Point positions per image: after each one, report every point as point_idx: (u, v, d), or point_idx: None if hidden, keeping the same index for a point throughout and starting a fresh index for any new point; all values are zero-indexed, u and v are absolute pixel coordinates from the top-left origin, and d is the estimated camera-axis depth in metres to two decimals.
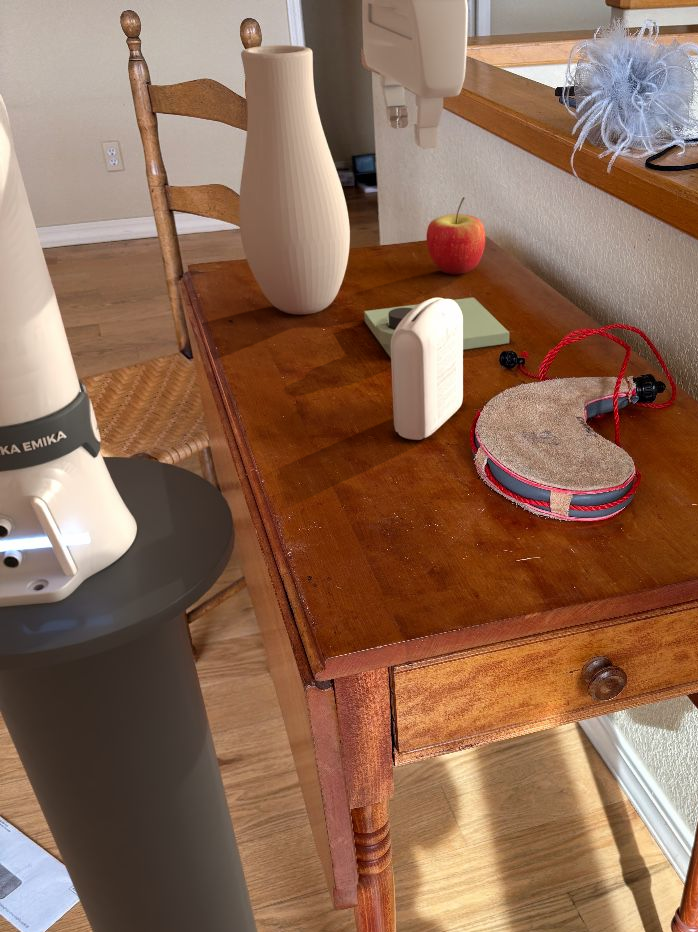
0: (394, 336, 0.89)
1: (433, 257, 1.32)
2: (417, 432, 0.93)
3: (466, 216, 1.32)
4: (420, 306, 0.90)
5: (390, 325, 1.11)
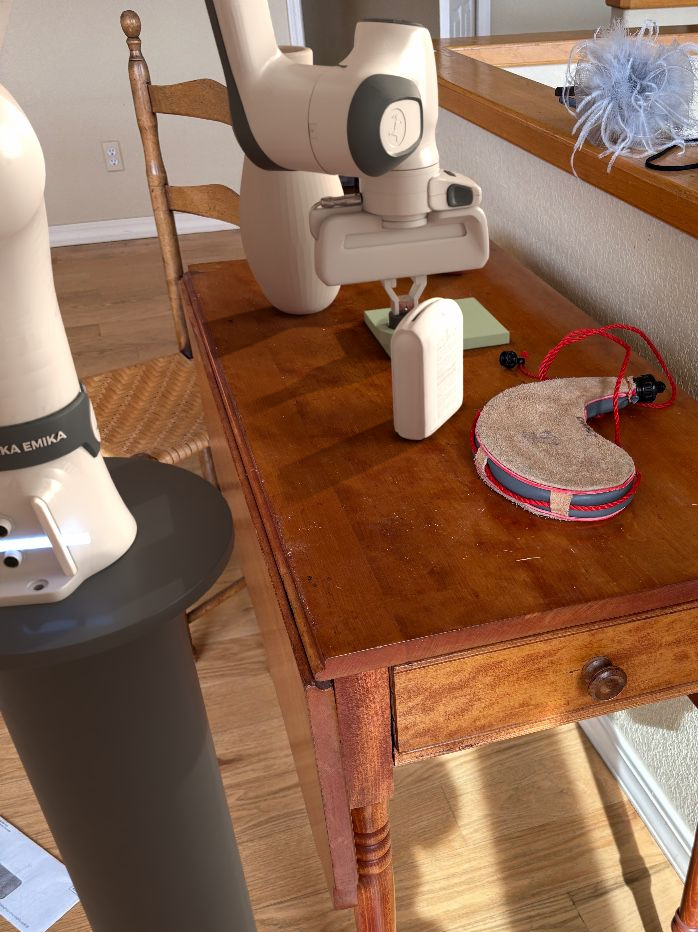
0: (394, 336, 0.89)
1: None
2: (417, 432, 0.93)
3: None
4: (420, 306, 0.90)
5: (390, 325, 1.11)
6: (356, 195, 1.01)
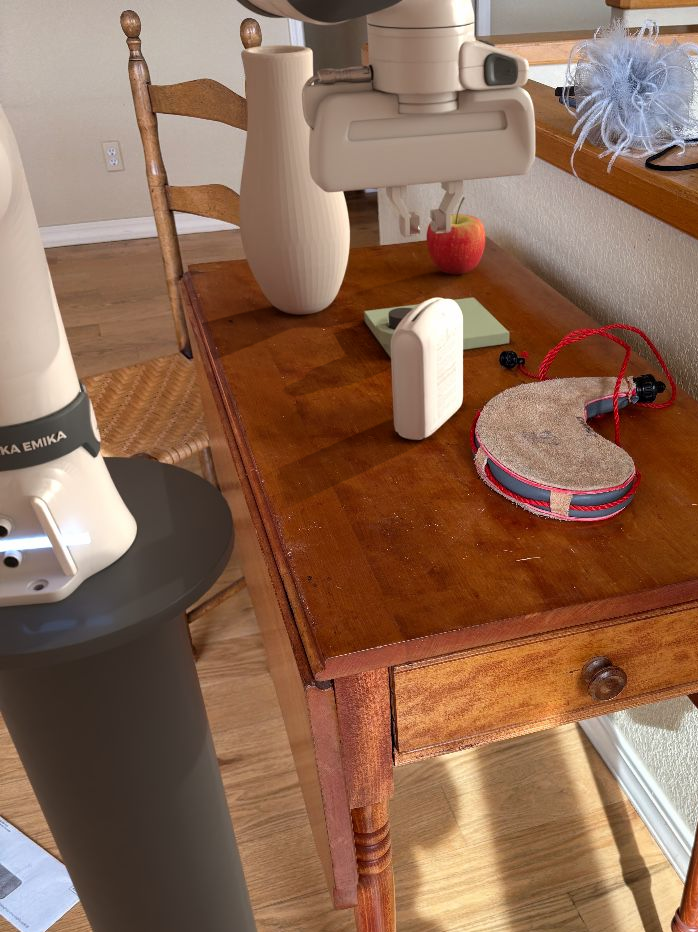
0: (394, 336, 0.89)
1: (433, 257, 1.32)
2: (417, 432, 0.93)
3: (466, 216, 1.32)
4: (420, 306, 0.90)
5: (390, 325, 1.11)
6: (364, 68, 0.76)
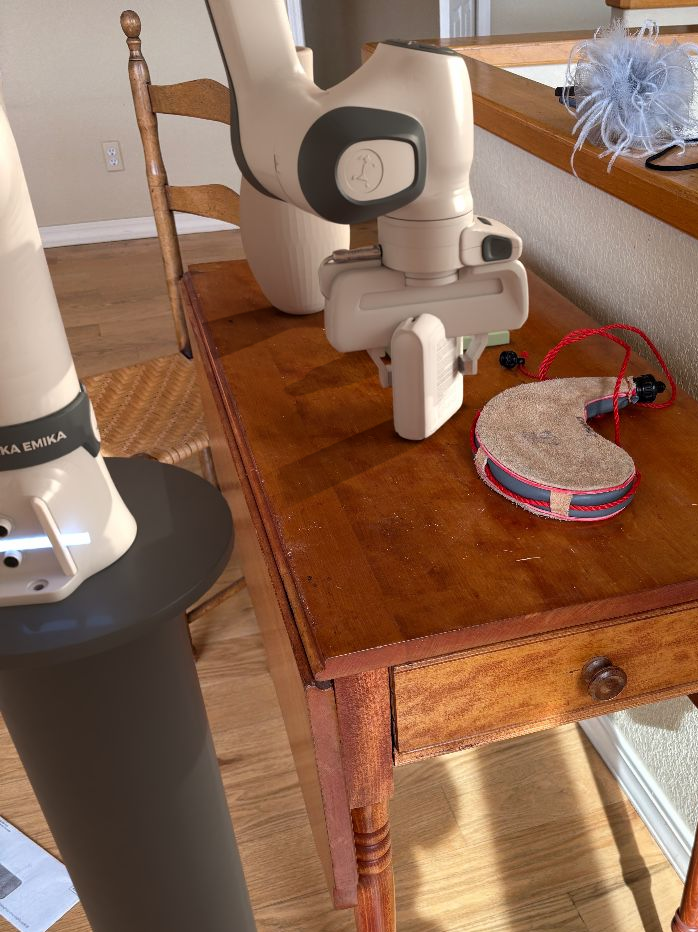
0: (394, 336, 0.89)
1: None
2: (417, 432, 0.93)
3: None
4: None
5: None
6: (375, 248, 0.85)
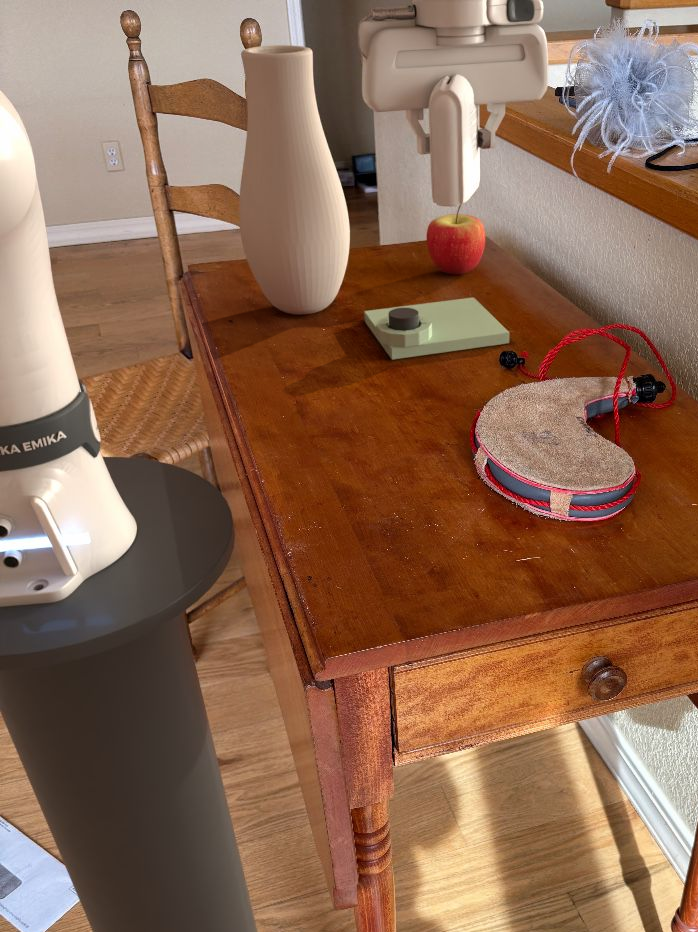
0: (432, 99, 0.96)
1: (433, 257, 1.32)
2: (456, 197, 1.01)
3: (466, 216, 1.32)
4: None
5: (390, 325, 1.11)
6: (409, 7, 0.94)
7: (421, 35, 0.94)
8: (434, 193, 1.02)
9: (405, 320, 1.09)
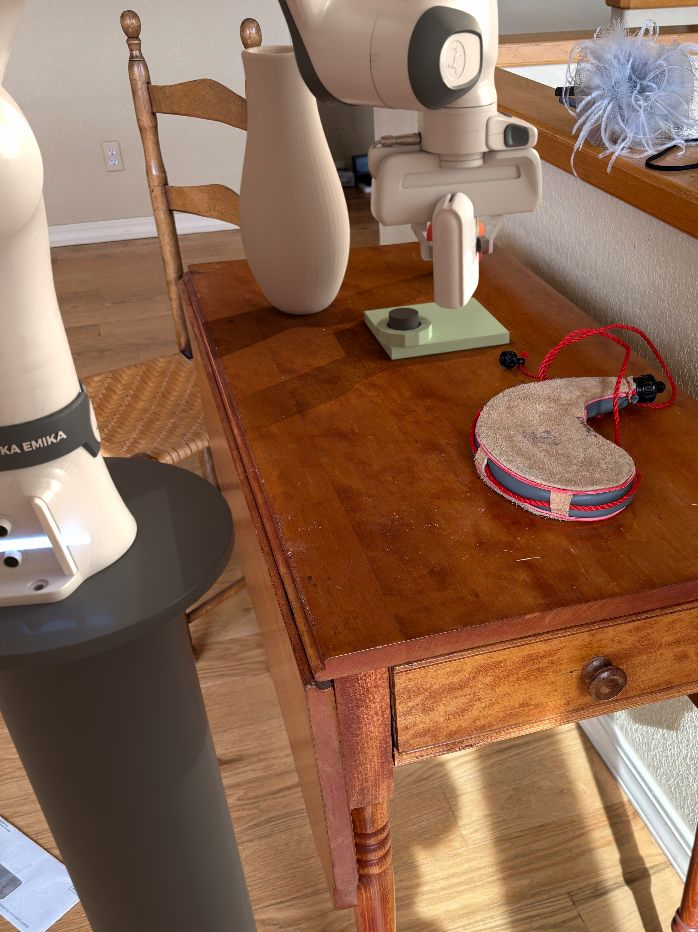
0: (436, 216, 1.05)
1: None
2: (457, 301, 1.10)
3: None
4: None
5: (390, 325, 1.11)
6: (415, 134, 1.02)
7: (425, 159, 1.03)
8: (436, 297, 1.10)
9: (405, 320, 1.09)
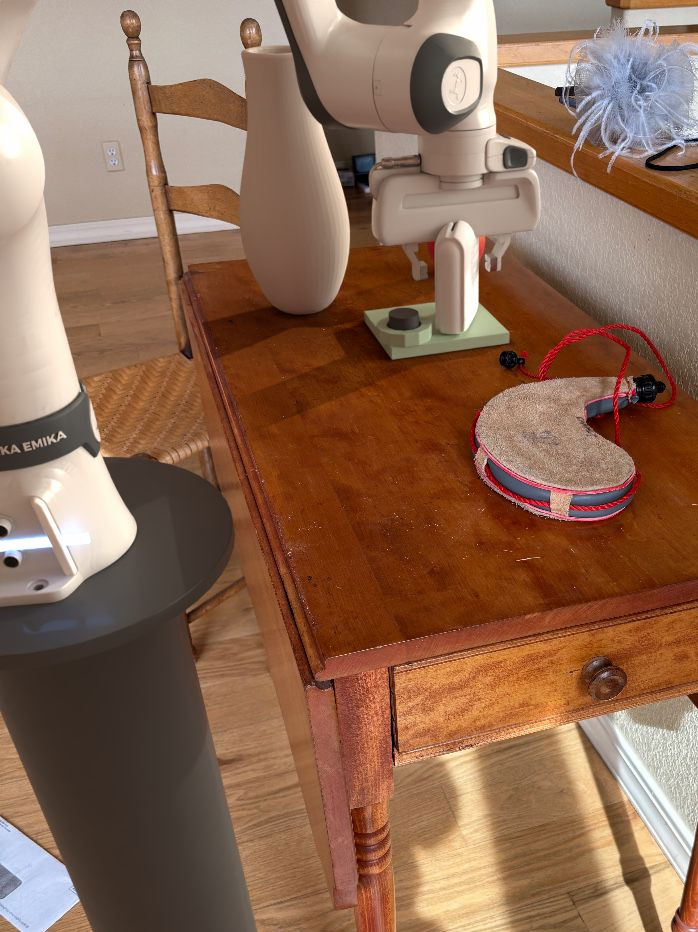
0: (438, 244, 1.07)
1: (433, 257, 1.32)
2: (458, 327, 1.12)
3: None
4: None
5: (390, 325, 1.11)
6: (415, 156, 1.04)
7: (426, 181, 1.04)
8: (438, 322, 1.12)
9: (405, 320, 1.09)
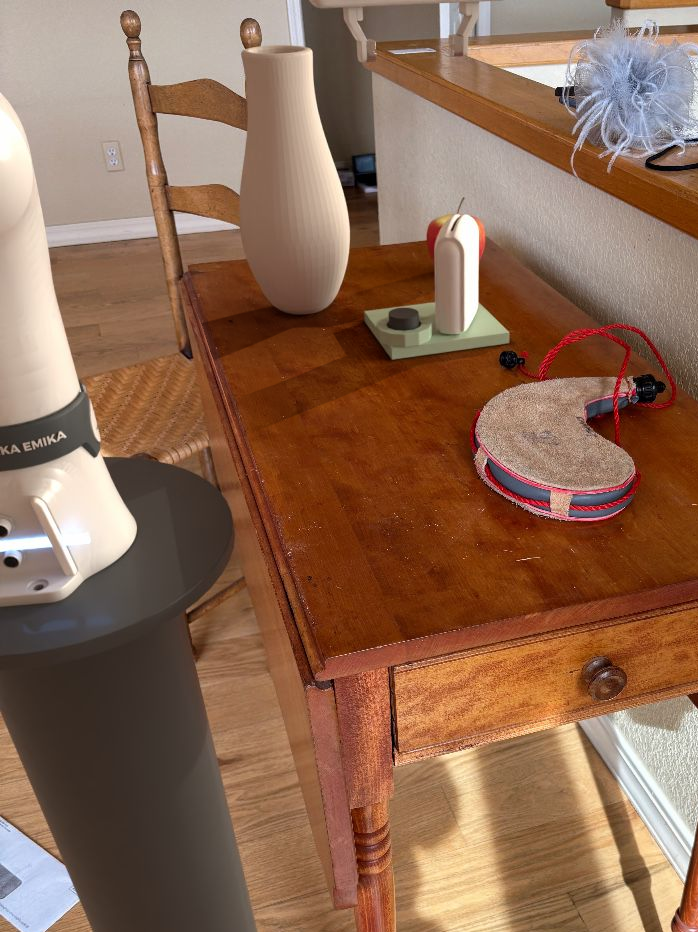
0: (438, 244, 1.07)
1: (433, 257, 1.32)
2: (458, 327, 1.12)
3: None
4: (452, 219, 1.08)
5: (390, 325, 1.11)
6: None
7: None
8: (438, 322, 1.12)
9: (405, 320, 1.09)
